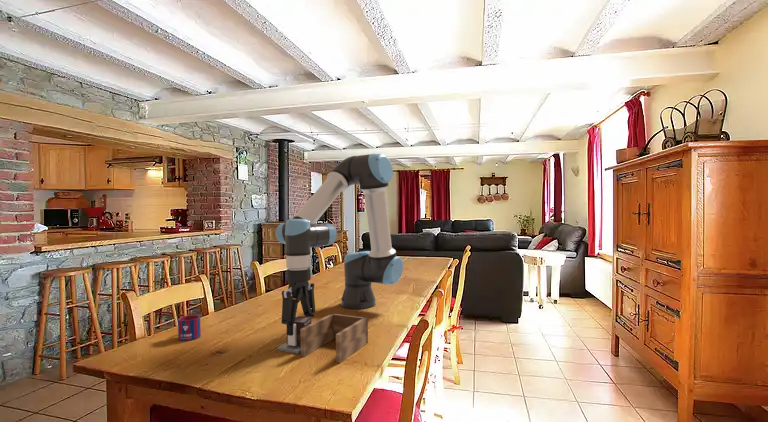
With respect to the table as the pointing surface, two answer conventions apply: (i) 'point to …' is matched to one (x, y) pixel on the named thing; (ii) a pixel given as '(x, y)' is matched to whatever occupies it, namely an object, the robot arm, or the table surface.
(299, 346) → the slate
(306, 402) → the table surface
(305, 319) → the box
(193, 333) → the mug
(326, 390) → the table surface
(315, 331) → the open wooden cubby
